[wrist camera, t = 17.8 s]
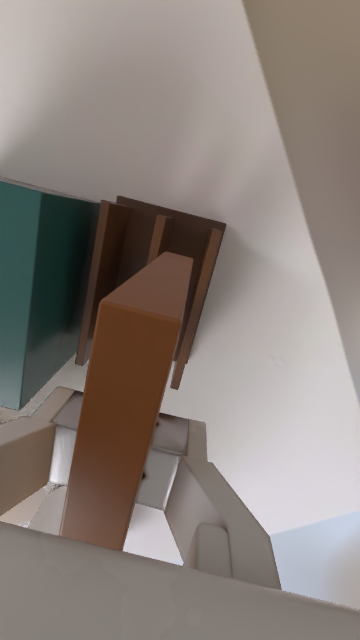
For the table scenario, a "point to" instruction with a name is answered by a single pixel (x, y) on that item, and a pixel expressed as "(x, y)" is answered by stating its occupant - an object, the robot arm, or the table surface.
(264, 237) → the table surface
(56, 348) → the toaster
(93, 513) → the toast
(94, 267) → the toast rack
